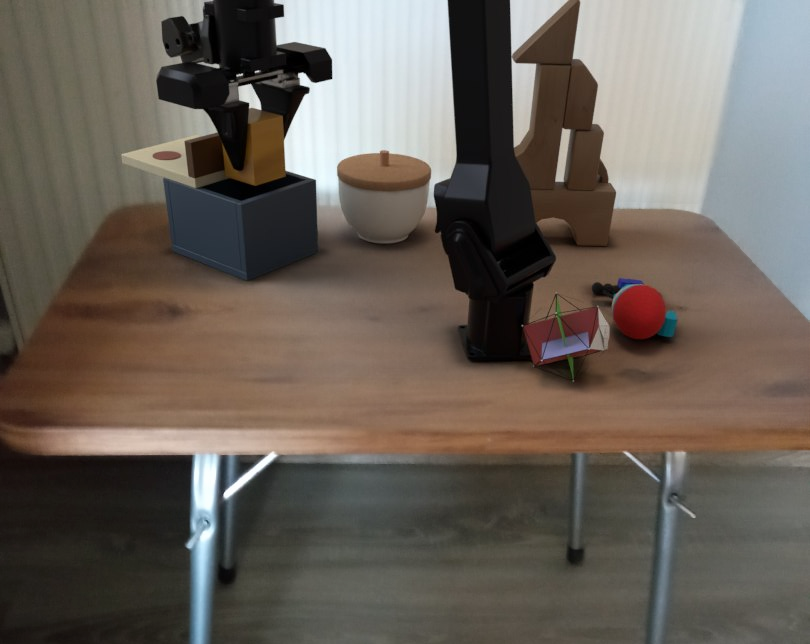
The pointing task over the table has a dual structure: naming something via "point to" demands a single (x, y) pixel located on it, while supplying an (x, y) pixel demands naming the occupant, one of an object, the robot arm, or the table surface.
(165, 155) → the lid
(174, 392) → the table surface
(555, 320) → the geometric puzzle
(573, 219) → the wooden toy
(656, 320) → the toy figure
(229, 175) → the block
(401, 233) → the trinket box
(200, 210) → the box
